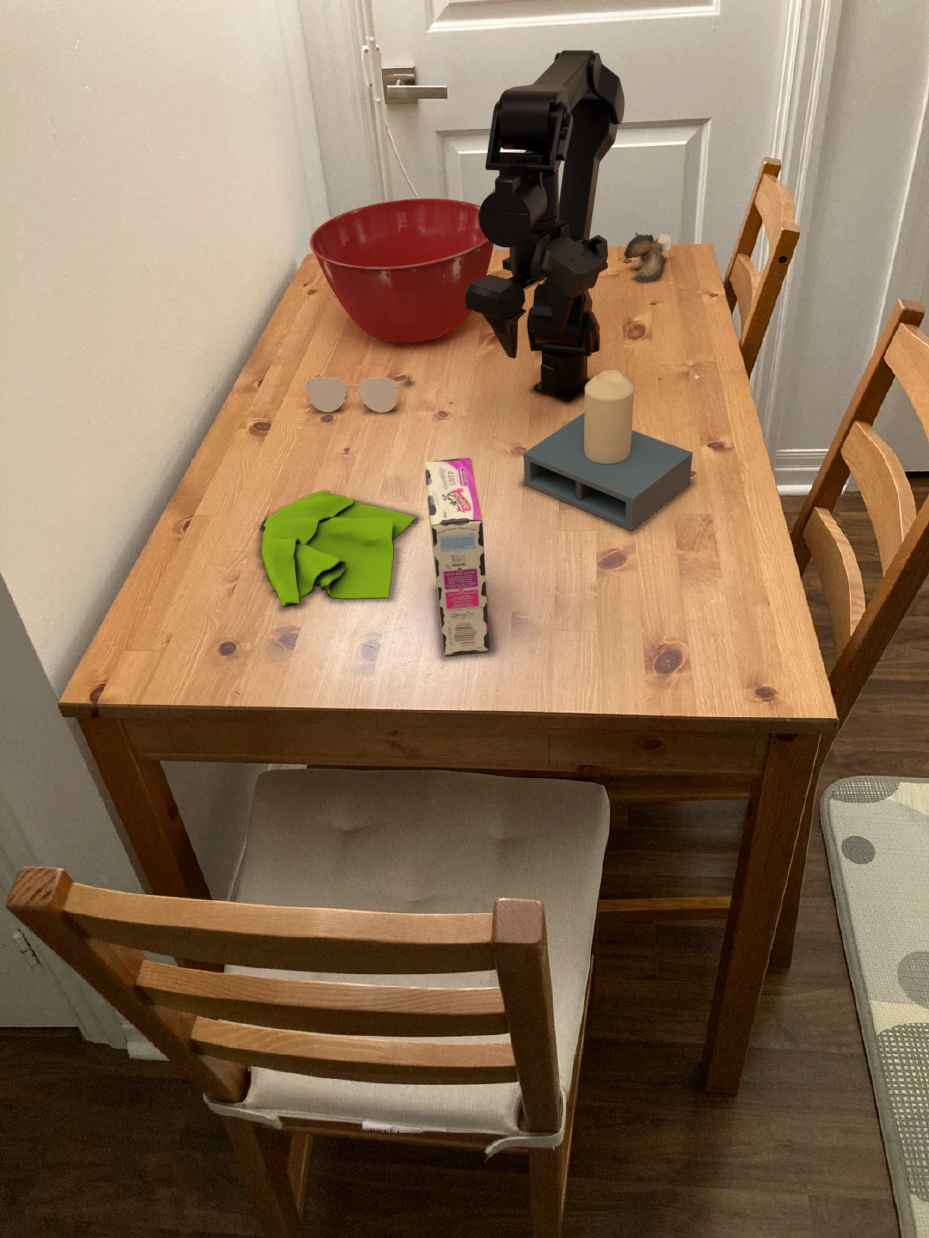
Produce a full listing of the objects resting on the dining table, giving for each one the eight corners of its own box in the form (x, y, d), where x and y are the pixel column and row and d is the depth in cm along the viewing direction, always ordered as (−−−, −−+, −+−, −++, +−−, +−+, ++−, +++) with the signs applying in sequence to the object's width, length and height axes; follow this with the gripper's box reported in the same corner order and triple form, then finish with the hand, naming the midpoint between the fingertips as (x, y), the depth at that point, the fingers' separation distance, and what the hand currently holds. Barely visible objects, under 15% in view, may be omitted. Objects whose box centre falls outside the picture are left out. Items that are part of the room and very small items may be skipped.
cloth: (318, 482, 124) (315, 466, 122) (458, 534, 114) (457, 517, 112) (200, 570, 112) (195, 553, 110) (346, 636, 102) (342, 619, 100)
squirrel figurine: (621, 252, 170) (612, 263, 162) (646, 216, 166) (638, 226, 158) (656, 279, 170) (649, 291, 163) (682, 244, 166) (676, 254, 159)
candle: (628, 465, 114) (632, 388, 107) (581, 463, 115) (582, 386, 108) (632, 441, 118) (636, 364, 111) (586, 439, 119) (587, 363, 112)
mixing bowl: (290, 331, 158) (271, 235, 147) (424, 275, 171) (415, 183, 161) (402, 387, 141) (389, 283, 131) (540, 320, 155) (538, 221, 144)
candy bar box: (493, 652, 98) (484, 520, 88) (444, 658, 98) (428, 526, 87) (482, 582, 107) (472, 454, 96) (436, 587, 107) (421, 459, 96)
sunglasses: (306, 412, 138) (301, 377, 135) (322, 391, 145) (317, 358, 142) (403, 412, 136) (400, 377, 133) (414, 392, 143) (411, 358, 140)
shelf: (583, 442, 127) (584, 412, 124) (689, 484, 118) (693, 452, 115) (524, 484, 120) (523, 453, 117) (631, 531, 112) (633, 499, 109)
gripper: (536, 256, 101) (538, 392, 111) (641, 202, 110) (634, 331, 121) (457, 234, 107) (466, 366, 117) (563, 185, 116) (563, 310, 127)
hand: (536, 343), depth 120 cm, fingers open, 9 cm apart
